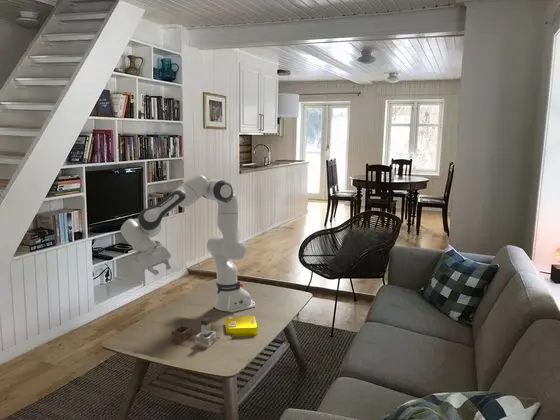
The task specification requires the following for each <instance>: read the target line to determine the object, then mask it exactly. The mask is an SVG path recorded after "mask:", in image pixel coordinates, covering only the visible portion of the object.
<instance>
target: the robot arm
mask: <svg viewBox="0 0 560 420" xmlns="http://www.w3.org/2000/svg"><path fill="white" fill-rule="evenodd" d="M202 197H203V198H205V199H208V200H212V201H216V202H217V219H216V220H217V221H216V225H217V228H218V230H219V231H220V232H221V235H215V236H210V237H209V239H208V240H207V243H206V249H207V251H208V252H209V253H210V255H211V257H212V259H213V262H214V264H215V265H214V266H215V269H216V270H215V271H216V283H215V289H216V290H215V291H216V298H215V303H214V308H215V310H218V311H223V312H229V313H235V312H238V311H242V310H244V311H245V310H246V309H251V308H255V307H256V302H255V301H254V300H253V299H252V297H251V294H250V293H249V292H248V291H247V290H245V289H244V288H243V286H244V283H242V282H241V281H239V280H238V267H237V266H236V264H235V263H234V262H233V260H234V261H235V260H236V261H237V260H240V261H241V260H242V259H244V258H245V257H246V255H247V253H248V246H247V245H246V243H245V242H244V240H243V238H242V237H241V234H240V230H239V201H238V196H237V194H235V192H234V189H233V187H232V184H231V183H230V182H228V181H227V180H223V179H218V178H207V177H206V176H205V175H204V174H203V175H202V174H195V175H194V176H192V177H190V178H188V179H187V180H186V181H184V182H183V183H182V184H180V185H179V186H178V187H177V188H176V189H175V190H174V191H172V192H171V193H170V194H168V195H167V196H166V197H165V198H163V199H162V200H161V201H159V202H157V203H156V204H154V205H153V206H149V207H146V208H144V209H143V210H142V211H140V213H139V214H138V218H128V219H126V220H125V221H124V222H123V223H122V225H121V227H120V233H121V235H122V236H123V238H124V239H125V241H126V242H127V243H128V244H129V245H130V246H131V247H132V250H133V251H134V253H132V259H133V260H134V263H135V264H136V266H137V268H138V270H140V271H141V272H145V271H148V272H150V273H152V274H153V275H154V276H157V275H159V274H160V271H158V269H155V268H154V267H156V266H158V265H161V264H164V265H165V269H166V270H167V271H169V270H170V269H171V268H172V266H171V265H170V261H169V260H170V259H171V258H172V254H171V253H170V251H168V249H167V248H166V247H165V246H164V245H162V244H163V243H162V241H160V240H153V239H151V238H153V237H156V236H157V235H158V234H159V233H160V232H161V230H162V220H163V218H164V217H165V216H166V215H167V214H168V213H170V212H171V211H172V210H173V209H175V208H176V207H181V208H189V207H190V206H193V204H195V203H196V202H197V201H199V200H200V198H202Z"/></svg>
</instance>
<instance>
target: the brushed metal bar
mask: <svg viewBox="0 0 560 420" xmlns="http://www.w3.org/2000/svg"><path fill="white" fill-rule="evenodd" d="M211 320H212V319H211V317H207V316H206V317H204V318H203V319H201V322H200V323H201V328H200V329H201V332H202V337H206V338H207V337H209V336H210V335H211V331H212V324H211V323H212V321H211ZM201 332H200V333H201Z"/></svg>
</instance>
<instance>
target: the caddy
mask: <svg viewBox="0 0 560 420" xmlns="http://www.w3.org/2000/svg"><path fill="white" fill-rule="evenodd" d="M220 339H221V337H219V336H218V331H215V330H211V335H210V336H209V337H207V338H206V337H202V332H199V333H198V332H194V331H193V327H192V326H187V325H179V326H178V327H176V328H175V329H173V330H172V331H171V339H169V340H168V341H167V342H166V343H168V344H172V345H178V346H182V347H186V348H191V349H196V350H202V351H207V350H208V349H209V348H210V347H211V346H213V345H214V344H215V343H216V342H217V341H219V340H220Z"/></svg>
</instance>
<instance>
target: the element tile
mask: <svg viewBox="0 0 560 420" xmlns="http://www.w3.org/2000/svg"><path fill="white" fill-rule="evenodd" d="M224 322H225V323H224V326H225V333H226V334H228V335H230V338H232V337H235V336H236V337H249V336H250V337H251V336H257V335H258V323H257V319H256V317H255V316H254V315H239V316H226V317H225V318H224Z"/></svg>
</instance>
